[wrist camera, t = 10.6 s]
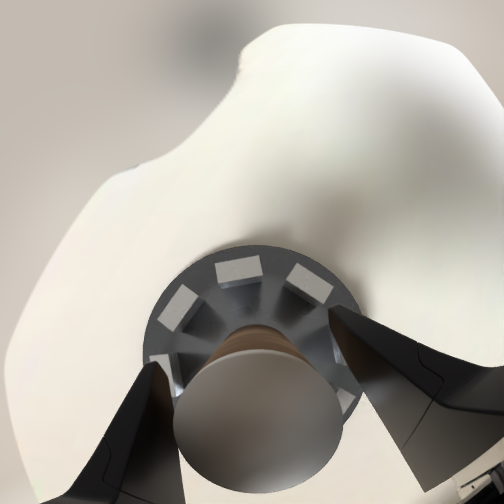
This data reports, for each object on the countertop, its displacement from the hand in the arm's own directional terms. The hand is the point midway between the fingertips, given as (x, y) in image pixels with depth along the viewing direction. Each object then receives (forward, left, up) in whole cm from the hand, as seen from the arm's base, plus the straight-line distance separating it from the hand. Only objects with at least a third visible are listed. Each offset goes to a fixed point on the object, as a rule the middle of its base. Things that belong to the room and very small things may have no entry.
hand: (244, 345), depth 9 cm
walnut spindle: (-1, +1, -8) cm, 8 cm away
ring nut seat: (-1, +1, -9) cm, 9 cm away
